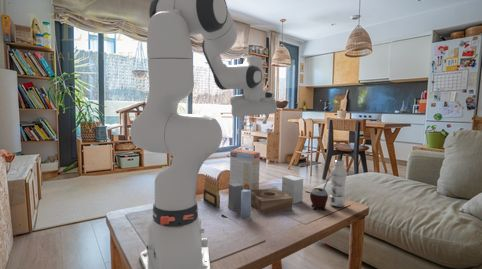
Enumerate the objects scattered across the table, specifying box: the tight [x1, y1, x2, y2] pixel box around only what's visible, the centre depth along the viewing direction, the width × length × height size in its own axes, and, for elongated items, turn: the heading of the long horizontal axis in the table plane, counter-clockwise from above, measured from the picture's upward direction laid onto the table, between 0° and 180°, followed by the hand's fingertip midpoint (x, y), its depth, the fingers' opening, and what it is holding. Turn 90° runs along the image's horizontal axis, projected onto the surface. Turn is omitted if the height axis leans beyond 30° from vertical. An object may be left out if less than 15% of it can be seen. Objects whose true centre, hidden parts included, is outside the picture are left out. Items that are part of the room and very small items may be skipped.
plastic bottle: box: [328, 159, 348, 208], centre depth 113 cm, size 6×7×20 cm
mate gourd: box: [309, 174, 334, 211], centre depth 110 cm, size 8×8×15 cm
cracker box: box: [229, 148, 261, 190], centre depth 125 cm, size 14×6×21 cm, turn 49°
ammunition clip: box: [202, 173, 221, 209], centre depth 112 cm, size 11×2×12 cm, turn 38°
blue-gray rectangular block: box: [240, 190, 252, 220], centre depth 99 cm, size 4×4×10 cm
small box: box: [281, 174, 304, 204], centre depth 119 cm, size 8×6×10 cm
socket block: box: [251, 187, 293, 214], centre depth 112 cm, size 14×14×5 cm
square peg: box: [227, 183, 243, 212], centre depth 108 cm, size 4×4×10 cm
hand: (254, 124), depth 119 cm, fingers open, 8 cm apart
